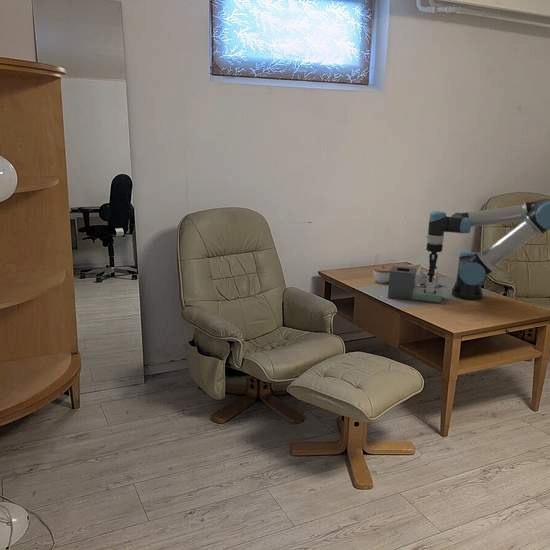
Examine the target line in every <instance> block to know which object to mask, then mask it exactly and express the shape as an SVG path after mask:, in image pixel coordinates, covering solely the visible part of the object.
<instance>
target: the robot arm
mask: <svg viewBox="0 0 550 550" xmlns="http://www.w3.org/2000/svg"><path fill="white" fill-rule="evenodd" d="M428 218H429V219H428V231H427V235H426V238H427V239H426V241H427V243H426V248H425V249H426V251H427V252H430V253H429V256H428V258H429V259H428V262H429V263H428V264H429V267H428V274H427V275H428V283H427V288H432V289H433V281H434V276H435V270H437V269H438V266H437V262H438V257H439V254H438V253H442V251H443V247H444V245H443V243H444V238H445V233H456V234H469V233H471V229H472V227H482V226H489V225H490V226H492V225H497V224H506V223H514V222H520V223H519V224H517V225H516V226H515V227H514V228H512V229H511V230H510V231H508V232H506V233H505V234H504V235H503V236H502V237H500V238H499V239H497V240H496V241H494V243H492V244H491V245H489V247H487V248H486V249H484V250H482V252H475V251H474V252H472V251H462V252H460V253H459V256H458V266H457V275H456V281H455V283H454V285H453V287H452V289H451V295H452V297H454V298H457V299H462V300H467V301H469V300H470V301H478V300H482V298H483V295H484V294H483V290H482V288H483V287H482V285H481V284H482V283H483V282H484V280H485V279H486V277H487V276H489V274H491V273H492V272H493V271H494V267H495V266H497V264H499V263H500V262H502V261H503V260H504V259H506V258H507V257H509V256H510V255H511V254H512V253H514V252H515V251H517V250H518V249H519V248H521V247H522V246H523V245H525V244H526V243H528V242H529V241H530V240H531V239H532V238H534V237H535V236H537V235H544V234H545V233H546V232H548V231H549V230H550V198H542V199H537V200H533V201H526V202H524V203H523V204H521V205H520V204H519V205H511V206H506V207H504V206H503V207H497V208H489V209H482V210H475V211H474V210H473V211H468V212H455V213H453V214H452V215H451V216H447V213H446V212H445V211H440V210H439V211H438V210H437V211H436V210H435V211H431V212H430V214H429V217H428Z"/></svg>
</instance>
